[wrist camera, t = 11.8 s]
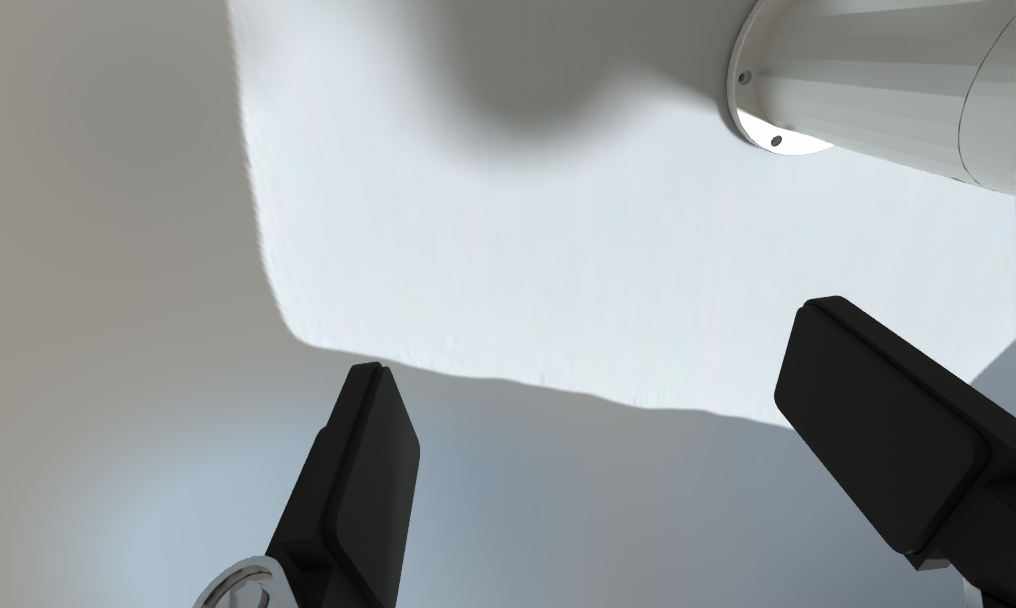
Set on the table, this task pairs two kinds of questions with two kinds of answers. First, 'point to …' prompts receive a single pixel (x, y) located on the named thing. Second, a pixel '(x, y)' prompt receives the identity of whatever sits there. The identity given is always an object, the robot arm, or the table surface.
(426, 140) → the table surface
